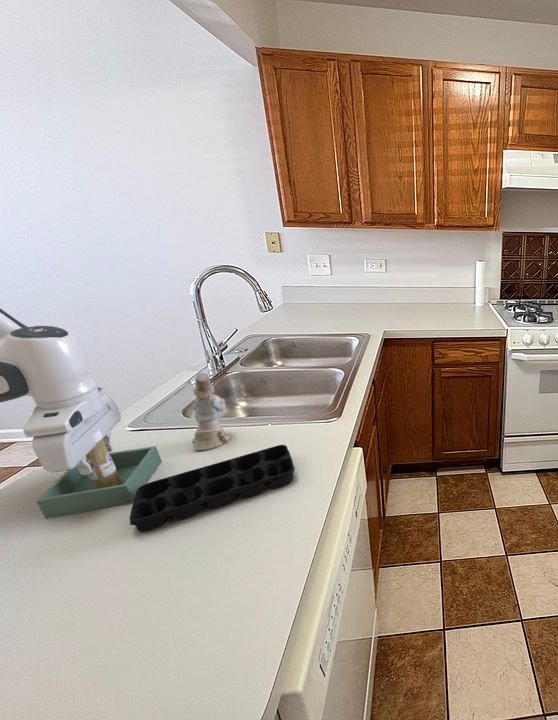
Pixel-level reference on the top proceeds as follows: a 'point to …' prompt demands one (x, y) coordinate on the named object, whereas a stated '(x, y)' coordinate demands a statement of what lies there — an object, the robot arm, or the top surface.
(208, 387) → the figurine
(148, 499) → the egg carton
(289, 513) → the top surface
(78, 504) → the bin
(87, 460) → the sprinkles bottle
